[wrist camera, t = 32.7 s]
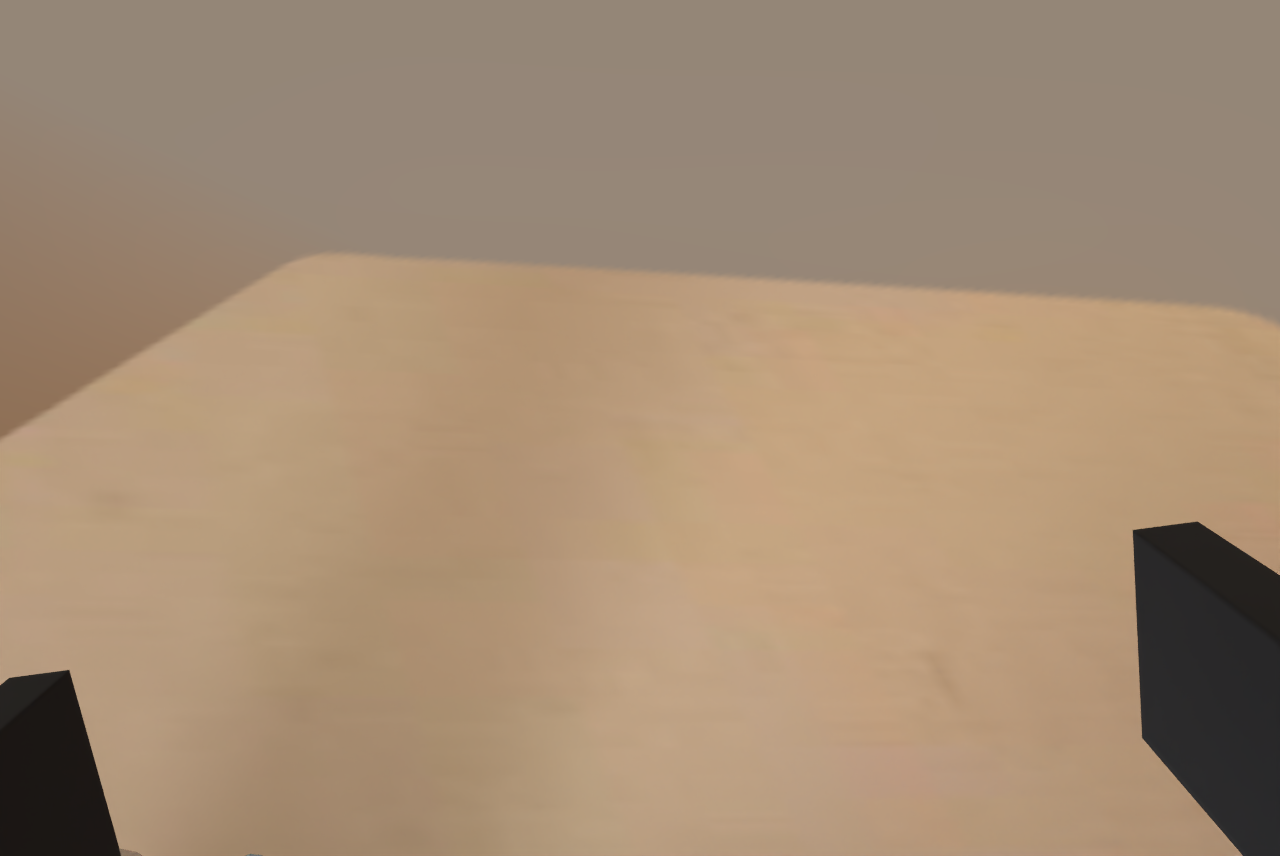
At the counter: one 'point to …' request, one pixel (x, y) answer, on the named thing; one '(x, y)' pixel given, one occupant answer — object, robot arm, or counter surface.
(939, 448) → the counter surface
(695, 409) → the counter surface
